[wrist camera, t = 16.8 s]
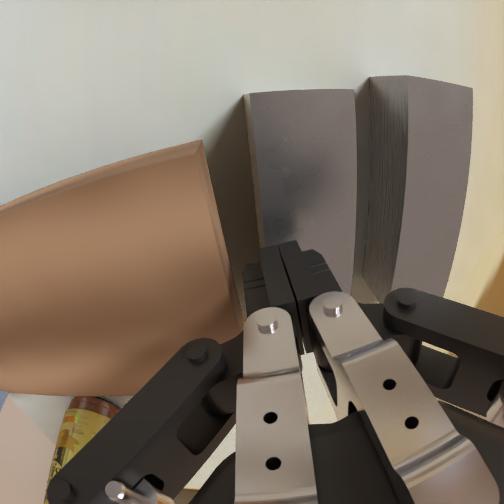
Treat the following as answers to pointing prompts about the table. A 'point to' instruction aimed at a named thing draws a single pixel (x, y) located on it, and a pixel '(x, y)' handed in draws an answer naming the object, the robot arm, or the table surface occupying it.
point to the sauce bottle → (79, 429)
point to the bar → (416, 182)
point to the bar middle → (306, 172)
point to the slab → (113, 276)
